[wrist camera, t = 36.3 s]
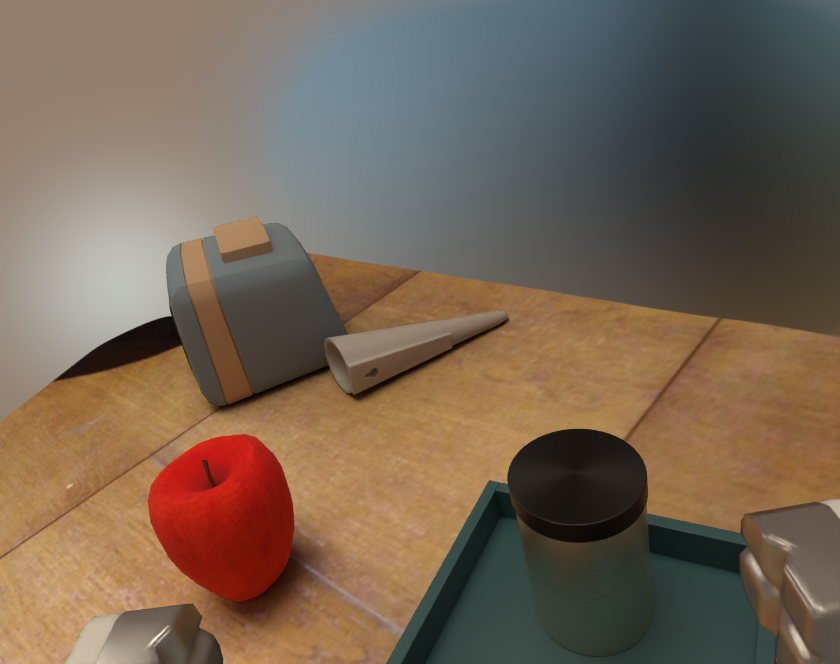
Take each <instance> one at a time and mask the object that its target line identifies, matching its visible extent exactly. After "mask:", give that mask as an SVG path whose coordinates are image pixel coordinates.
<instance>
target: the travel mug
mask: <svg viewBox="0 0 840 664" xmlns="http://www.w3.org/2000/svg"><path fill="white" fill-rule="evenodd" d="M507 480H508V487H509V492H510V497H511V502H512V505H513V508H514V510H515V512H516V516H517V521H518V526H519V531H520V536H521V541H522V546H523V550H524V555H525V560H526V565H527V570H528V575H529V580H530V584H531V589H532V594H533V599H534V604H535V609H536V613H537V616H538V619H539V621H540V623H541V625H542V627H543V628H544V630H545V631H546V632H547V633H548V635H549V636H550V637H551V638H552V639H554V640H555V641H556V642H557V643H559V644H560V645H562V646H563V647H565V648H567V649H569V650H571V651H574V652H576V653H580V654H584V655H590V656H607V655H612V654H617V653H620V652H622V651H625V650H627V649H628V648H630V647H632V646H633V645H635V644H636V643H637V642H638V641H639V640H640V639H641V638H642V637H643V636H644V634H645V633H646V632H647V630H648V628H649V626H650V623H651V620H652V615H653V599H652V583H651V567H650V551H649V535H648V519H647V498H648V484H647V471H646V467H645V464H644V462H643V460H642V458H641V457H640V455H639V454H638V452H637V451H636V450H635V449H634V448H633V447H632V446H630V445H629V444H628V443H626V442H625V441H624V440H622V439H620V438H618V437H616V436H614V435H611V434H608V433H605V432H601V431H596V430H590V429H567V430H560V431H556V432H552V433H549V434H546V435H543V436H541V437H539V438H537V439H535V440H533V441H531V442H530V443H528V444H527V445H526V446H524V447H523V448H522V449H521V450H520V451H519V452H518V453H517V455H516V456H515V457H514V459H513V460H512V462H511V465H510V467H509V471H508V479H507Z"/></svg>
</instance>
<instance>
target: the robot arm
mask: <svg viewBox="0 0 840 664" xmlns="http://www.w3.org/2000/svg"><path fill="white" fill-rule="evenodd" d="M740 533H741V535H742V537H743V538H744V540H745V542H746V544H747V545H748V546H747V547H746V549H745V550H744V551H743V552H742V553H741V554H740V575H741V580H742V584H743V588H744V592H745V594H746V597H747V599H748V602H749V604H750V607H751V609H752V611H753V613H754V615H755V617H756V619H757V620H758V622H759V624H760V625H762V626H763V627H765V628H766V629H767V630H769V631H770V632H772V633H773V634H775V635H776V636H777V645H776V656H777V658H778V660H779V662H780V664H840V499H834V500H828V501H822V502H811V503H805V504H800V505H794V506H788V507H782V508H776V509H771V510H765V511H759V512H753V513H747V514H745V515H744V516H743V518H742V520H741V532H740ZM201 619H202V616H201V614H200V613H199V612H198V610H197V609H196V607H195V606H194V604H193V603H192V604H182V605H174V606H166V607H158V608H151V609H143V610H135V611H127V612H121V613H114V614H107V615H101V616H95V617H94V618H92V619H91V620H90V621H89V622H88V623H87V624H86V625H85V626H84V628H83V629H82V631H81V633H80V635H79V637H78V639H77V641H76V643H75V645H74V647H73V649H72V651H71V653H70V655H69V657H68V658H67V660H66V662H65V664H223V657H222V653H221V649H220V645H219V643H218V642H217V640H216V638H215V637H214V635H212V634H211V633H209V632H207V631H205V630H203V629H201V628H199V625H200V622H201Z"/></svg>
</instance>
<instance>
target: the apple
mask: <svg viewBox="0 0 840 664" xmlns="http://www.w3.org/2000/svg"><path fill="white" fill-rule="evenodd" d="M148 506H149V513H150V521H151V524H152V526H153V529H154V531H155V533H156V535H157V537H158V539H159V541H160V543H161V544H162V546H163V548H164V550H165V552H166V553H167V555H168V557H169V558H170V559H171V561H172V562H173V563H174V564H175V565H176V566H177V567H178V568H179V569H180V571H181V572H182V573H184V574H185V575H186V576H188V577H189V578H191V579H192V580H193V581H195V582H196V583H197V584H199V585H201V586H202V587H204V588H206V589H208V590H209V591H211V592H213V593H215V594H216V595H218V596H220V597H223V598H226V599H230V600H233V601H237V602H241V601H245V600H248V599H252V598H255V597H257V596H259V595H260V594H262V593H264V592H265V591H266V590H267V589H268V588H269V587H270V586H271V585H272V584H273V583H274V582H275V581H276V580H277V578H278V577H279V576H280V574H281V573H282V571H283V570H284V568H285V567H286V564H287V562H288V559H289V557H290V553H291V546H292V540H293V534H294V512H293V504H292V498H291V494H290V491H289V488H288V484H287V481H286V478H285V475H284V472H283V469H282V467H281V465H280V463H279V462H278V460H277V459H276V457H275V455H274V454H273V453H272V452H271V451H270V450H269V449H268V448H267V447H266V446H265V445H264V444H263V443H262V442H261V441H259V440H258V439H257V438H256V437H253V436H249V435H245V434H243V435H231V436H220V437H216V438H213V439H210V440H207V441H204V442H201V443H199V444H197V445H196V446H194V447H192V448H191V449H189V450H188V451H186V452H185V453H183V454H182V455H181V456H180V457H178V458H177V459H176V460H174V461H173V462H172V463H170V464H169V465H168V466H167V467H166V468H164V469H163V470H162V471H161V472H160V474H159V475H158V476H157V478H156V479H155V481H154V482H153V484H152V485H151V487H150V493H149V499H148Z"/></svg>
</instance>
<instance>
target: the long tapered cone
mask: <svg viewBox="0 0 840 664" xmlns="http://www.w3.org/2000/svg"><path fill="white" fill-rule="evenodd" d="M507 318H508V314H507V313H506V312H504V311H495V312H487V313H480V314H474V315H467V316H461V317H455V318H449V319H442V320H436V321H430V322H424V323H418V324H411V325H405V326H399V327H392V328H386V329H380V330H374V331H368V332H362V333H354V334H348V335H342V336H336V337H329V338H326V339H325V342H324V349H325V354H326V358H327V361H328V364H329V367H330V369H331V372H332V374H333V376H334V378H335V380H336V381H337V383H338V384H339V386H340V387H341V388H342V389H343V390H344V391H345V392H346V393H353V394H354V395H355V394H357V393H359V392H361V391H363V390H366V389H368V388H370V387H372V386H374V385H376V384H378V383H380V382H382V381H384V380H386V379H389V378H391V377H393V376H395V375H397V374H399V373H401V372H403V371H405V370H407V369H409V368H412V367H414V366H416V365H418V364H420V363H422V362H424V361H426V360H428V359H430V358H432V357H435V356H437V355H439V354H441V353H443V352H445V351H447V350H449V349H451V348H452V346H453V345H455V344H457V343H460V342H462V341H464V340H466V339H468V338H470V337H473V336H475V335H477V334H479V333H481V332H483V331H485V330H488V329H490V328H493V327H495V326H497V325H499V324H501V323H502V322H503V321H505V320H506V319H507Z"/></svg>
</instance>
